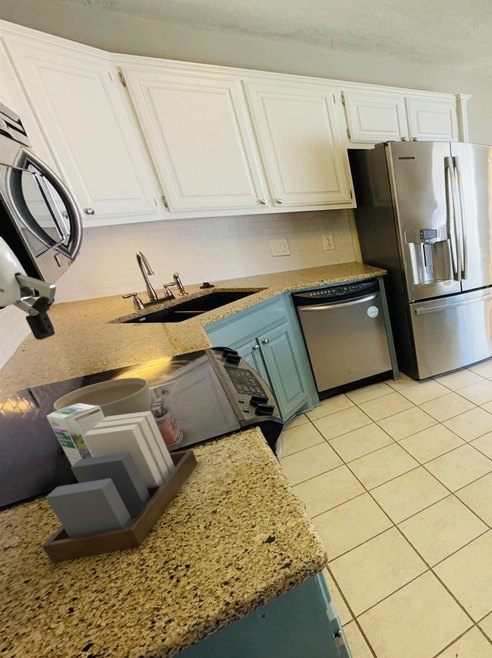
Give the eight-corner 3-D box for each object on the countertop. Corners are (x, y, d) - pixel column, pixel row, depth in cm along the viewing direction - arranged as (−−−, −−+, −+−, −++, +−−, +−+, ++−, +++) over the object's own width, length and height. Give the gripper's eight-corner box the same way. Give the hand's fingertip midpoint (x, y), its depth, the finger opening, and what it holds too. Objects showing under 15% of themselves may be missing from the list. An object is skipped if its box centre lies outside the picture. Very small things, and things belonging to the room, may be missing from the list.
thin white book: (118, 504, 76) (82, 435, 69) (124, 497, 77) (89, 430, 71) (162, 496, 77) (131, 429, 71) (167, 490, 79) (137, 423, 73)
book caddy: (52, 563, 64) (41, 546, 62) (133, 473, 84) (126, 459, 82) (140, 545, 66) (131, 529, 65) (197, 463, 87) (192, 449, 85)
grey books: (77, 551, 66) (41, 492, 61) (109, 513, 73) (80, 459, 68) (129, 541, 67) (98, 483, 62) (155, 505, 75) (129, 451, 70)
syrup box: (76, 477, 83) (42, 415, 77) (108, 460, 88) (79, 401, 82) (97, 481, 82) (64, 419, 76) (128, 463, 87) (100, 404, 81)
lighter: (179, 446, 93) (163, 408, 89) (161, 451, 91) (143, 412, 87) (184, 430, 99) (170, 393, 95) (167, 434, 97) (151, 397, 93)
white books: (126, 494, 78) (92, 427, 72) (137, 481, 81) (106, 416, 75) (168, 487, 80) (139, 421, 74) (178, 474, 83) (151, 410, 77)
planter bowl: (82, 429, 100) (62, 389, 96) (165, 409, 109) (149, 372, 105) (68, 460, 88) (44, 417, 84) (162, 435, 97) (144, 394, 93)
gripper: (-160, 232, 54) (-85, 352, 61) (5, 229, 58) (57, 342, 65) (-98, 228, 61) (-38, 336, 67) (45, 225, 65) (89, 328, 71)
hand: (9, 339), depth 66 cm, fingers open, 9 cm apart
